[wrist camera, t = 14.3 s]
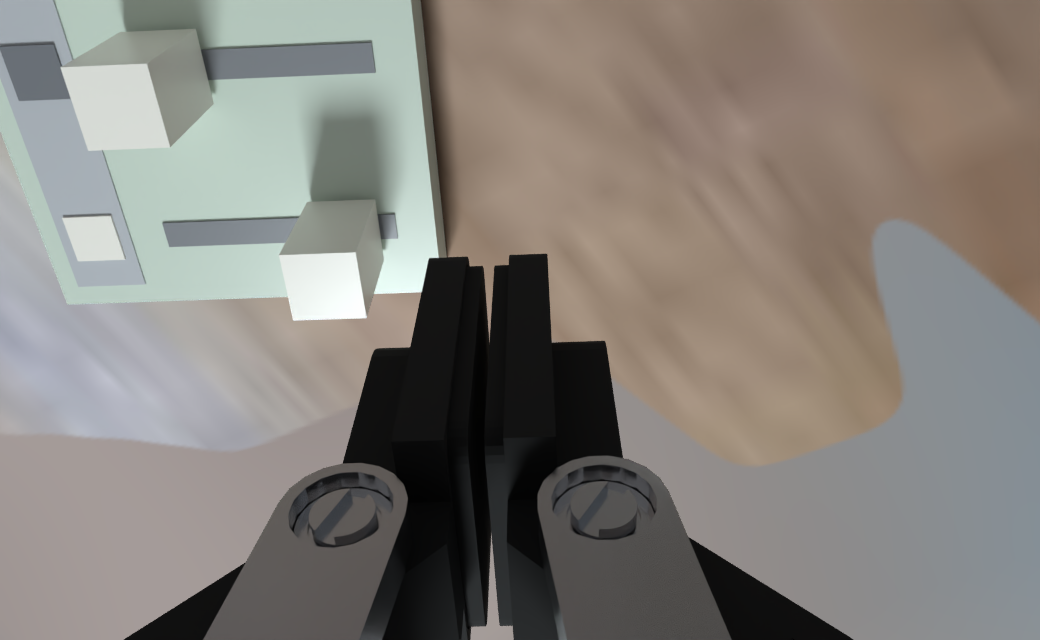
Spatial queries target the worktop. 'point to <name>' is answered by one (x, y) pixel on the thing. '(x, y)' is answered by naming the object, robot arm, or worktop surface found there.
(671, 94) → the worktop surface
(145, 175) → the switch box
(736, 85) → the worktop surface
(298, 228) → the switch
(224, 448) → the worktop surface
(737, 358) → the worktop surface
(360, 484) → the robot arm
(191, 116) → the switch
